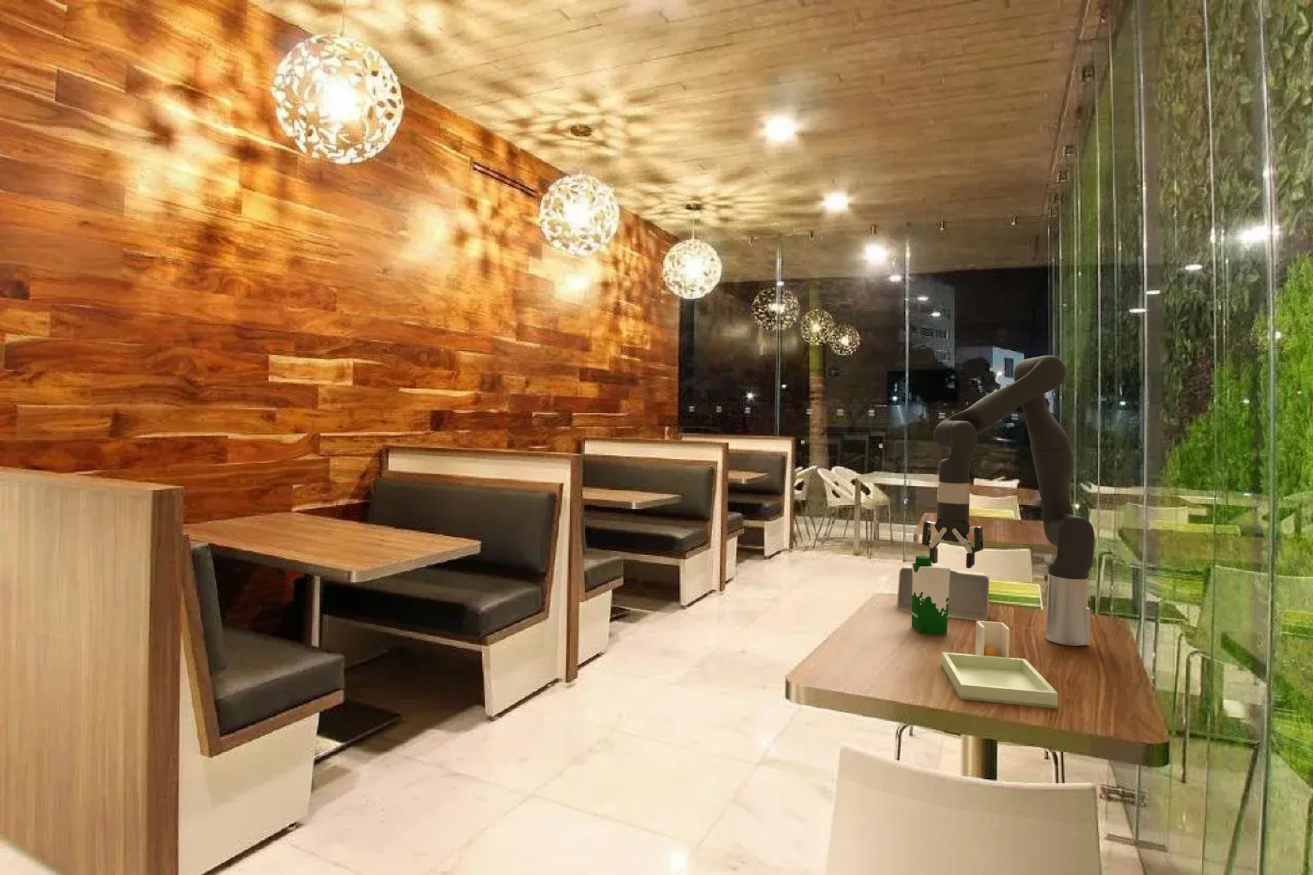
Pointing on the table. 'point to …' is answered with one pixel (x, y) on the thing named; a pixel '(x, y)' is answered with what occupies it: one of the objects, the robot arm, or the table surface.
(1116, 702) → the table surface
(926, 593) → the milk carton
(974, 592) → the grey rectangular box
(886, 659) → the table surface
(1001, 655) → the mini side table
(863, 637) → the table surface
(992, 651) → the mixing ball
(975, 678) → the tray
